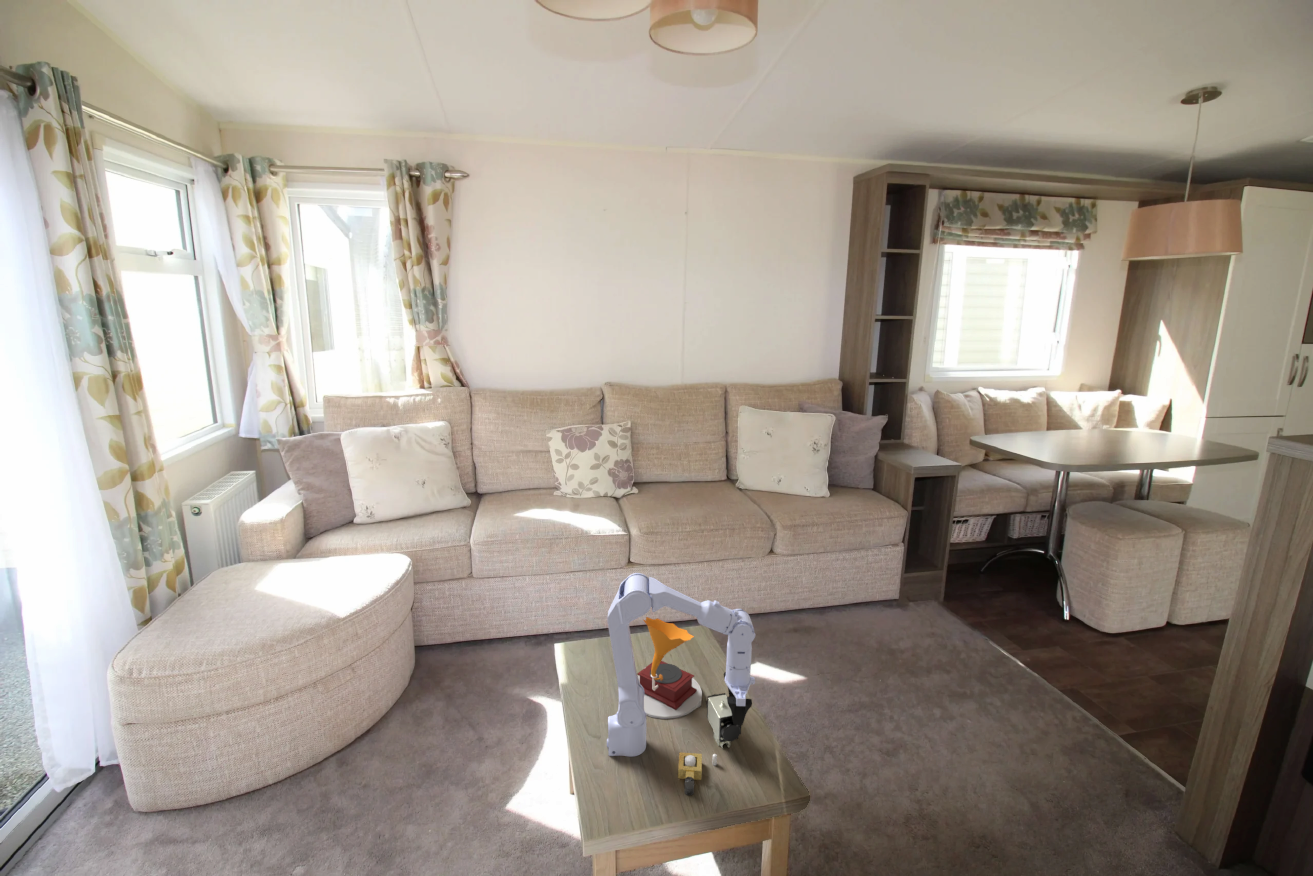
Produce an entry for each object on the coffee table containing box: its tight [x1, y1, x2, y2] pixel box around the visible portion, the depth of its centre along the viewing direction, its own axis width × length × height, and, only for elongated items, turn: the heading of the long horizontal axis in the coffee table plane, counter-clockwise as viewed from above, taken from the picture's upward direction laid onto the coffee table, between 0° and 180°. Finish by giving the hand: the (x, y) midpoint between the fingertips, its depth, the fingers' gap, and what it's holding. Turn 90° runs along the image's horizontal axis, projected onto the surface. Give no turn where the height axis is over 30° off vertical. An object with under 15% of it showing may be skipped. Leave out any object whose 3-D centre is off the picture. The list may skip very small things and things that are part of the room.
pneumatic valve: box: [705, 692, 742, 750], centre depth 146 cm, size 6×12×12 cm, turn 15°
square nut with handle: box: [677, 752, 703, 796], centre depth 135 cm, size 5×10×3 cm, turn 175°
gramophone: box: [636, 616, 703, 720], centre depth 162 cm, size 20×20×25 cm
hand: (736, 713), depth 144 cm, fingers open, 7 cm apart
